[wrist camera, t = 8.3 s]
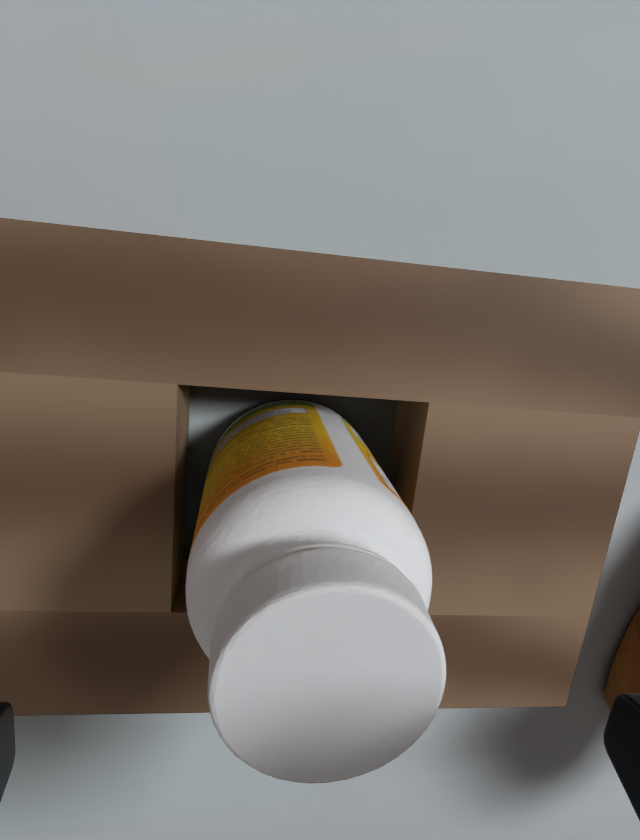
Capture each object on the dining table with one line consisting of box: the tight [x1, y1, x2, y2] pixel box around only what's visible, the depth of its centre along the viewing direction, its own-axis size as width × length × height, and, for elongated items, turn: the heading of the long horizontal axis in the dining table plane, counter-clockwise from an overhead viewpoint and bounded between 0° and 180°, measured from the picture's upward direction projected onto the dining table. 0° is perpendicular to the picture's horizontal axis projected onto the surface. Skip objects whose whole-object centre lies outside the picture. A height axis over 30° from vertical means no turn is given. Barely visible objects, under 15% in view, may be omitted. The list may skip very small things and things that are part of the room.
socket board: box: [0, 218, 640, 716], centre depth 16 cm, size 14×20×3 cm
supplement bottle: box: [186, 400, 446, 783], centre depth 13 cm, size 5×5×10 cm
